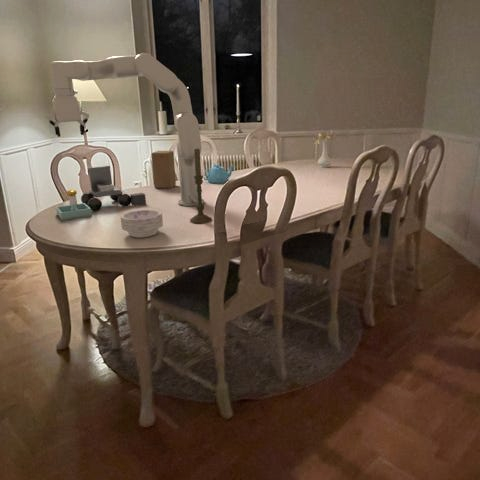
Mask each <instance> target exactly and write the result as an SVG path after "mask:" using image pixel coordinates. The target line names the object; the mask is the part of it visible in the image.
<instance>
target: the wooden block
mask: <svg viewBox="0 0 480 480" xmlns="http://www.w3.org/2000/svg"><path fill="white" fill-rule="evenodd" d="M150 155H151V156H150V157H151V163H152V167H151V168H152V178H153V186H154V188H155V189H171V188H173V187H175V186H176V184H177V183H176V182H177V181H176V170H175V157H174V156H175V155H174V151H173V150H156V151H153V152H151V154H150Z"/></svg>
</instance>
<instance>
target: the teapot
mask: <svg viewBox="0 0 480 480" xmlns="http://www.w3.org/2000/svg"><path fill="white" fill-rule="evenodd" d="M234 166H235V164H232V165H230V166H229V170H228V171H227V170H226V168H225V167H224V166H220V164H216V163H215V162H213V166H212V167H211V168H206V169H204V175H205V176H203V179H204V180H203V181H208V182H209V184H224V183H225V184H226V183H228V181H229V179H230V177H231V176H232V173H233V167H234Z"/></svg>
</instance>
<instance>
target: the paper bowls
mask: <svg viewBox="0 0 480 480" xmlns="http://www.w3.org/2000/svg"><path fill="white" fill-rule="evenodd" d="M163 220H164V219H163V213H162V212H161V211H160V210H155V209H154V210H153V209H143V210H133V211H128V212H126V213H123V214H121V215H120V223H121V229H122V230H123V231H125V232H127V233H128V235H129V236H131V237H133V238H137V239H139V238H141V239H143V238H149V237H153V236H155V235H156V234H158V230H159V229H160V228H161V229H162V227H163V225H164V223H163V222H164V221H163Z"/></svg>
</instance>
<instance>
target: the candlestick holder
mask: <svg viewBox="0 0 480 480" xmlns="http://www.w3.org/2000/svg"><path fill="white" fill-rule="evenodd" d="M197 148H198V147H197ZM194 154H195V171H196V176H194V178H195V184H197V192H198V205H196V206H195V208H196V210H197V214H196V215H193V217H191V218H189V222H190V223H192V224H197V225H200V224H201V225H203V224H209V223H211V222H213V219H212V217H211V216H209V215H207V214H205V213H204V209H205V204H204V203H203V204H202V201H201V200H202V199H203V198H202V191H203V188H202V186H201V185H202V184H203V183H204V180H203V179H204V175H202V167H201V165H202V164H201V153H200V149H194Z"/></svg>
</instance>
